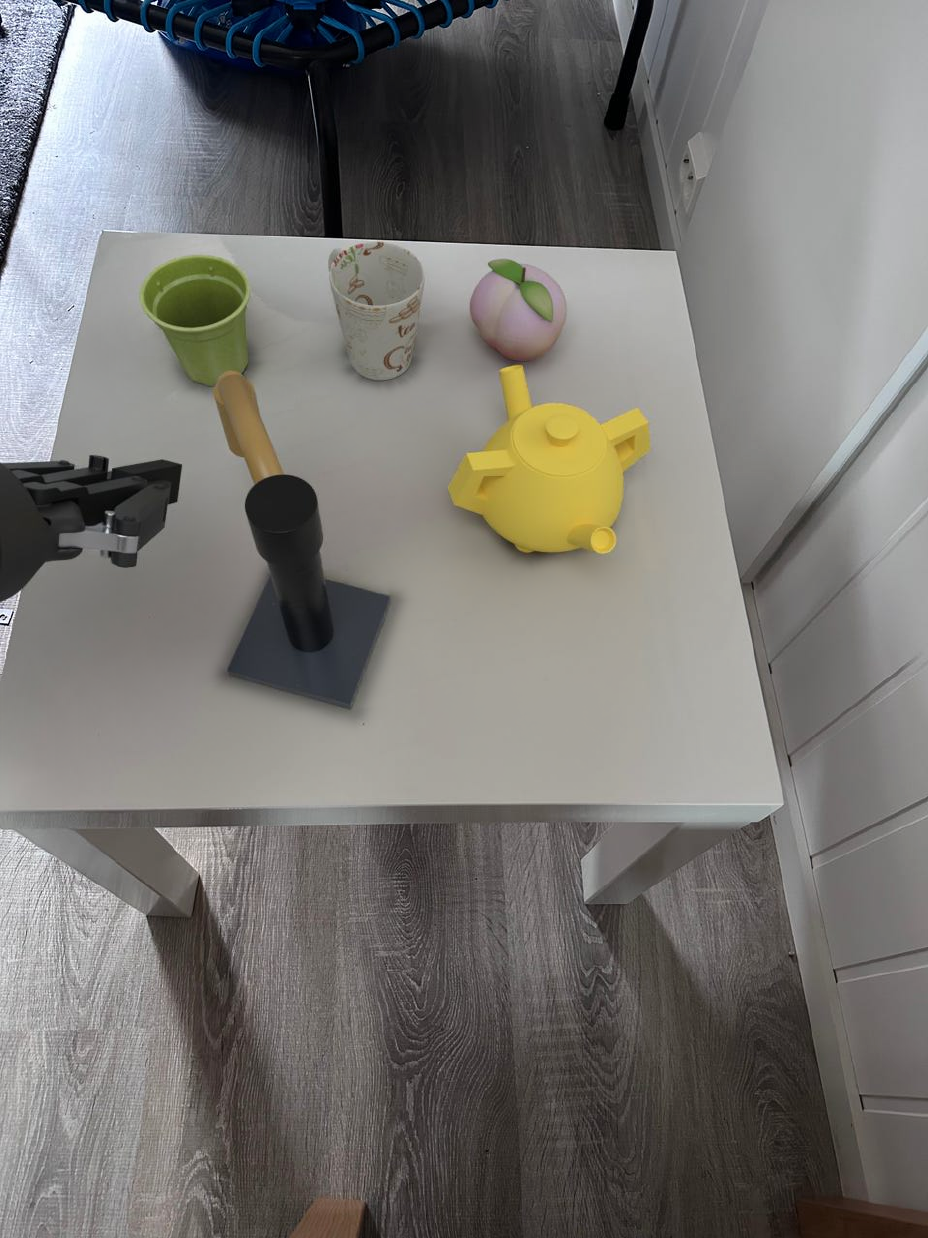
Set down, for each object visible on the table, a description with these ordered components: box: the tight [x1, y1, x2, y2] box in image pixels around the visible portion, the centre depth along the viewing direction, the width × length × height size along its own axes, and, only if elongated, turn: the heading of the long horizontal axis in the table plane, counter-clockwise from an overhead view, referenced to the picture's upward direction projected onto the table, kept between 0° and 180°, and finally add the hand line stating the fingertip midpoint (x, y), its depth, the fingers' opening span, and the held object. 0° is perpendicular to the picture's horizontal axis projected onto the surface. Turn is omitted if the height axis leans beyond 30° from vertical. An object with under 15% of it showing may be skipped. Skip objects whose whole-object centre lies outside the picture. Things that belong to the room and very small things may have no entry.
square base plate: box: [226, 549, 391, 711], centre depth 62 cm, size 10×10×14 cm
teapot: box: [447, 364, 651, 555], centre depth 70 cm, size 20×18×11 cm
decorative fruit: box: [469, 258, 568, 361], centre depth 80 cm, size 9×8×10 cm
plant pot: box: [139, 254, 251, 387], centre depth 77 cm, size 9×9×9 cm
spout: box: [213, 370, 324, 567], centre depth 57 cm, size 16×4×8 cm, turn 23°
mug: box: [327, 241, 426, 381], centre depth 79 cm, size 8×13×10 cm, turn 39°
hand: (169, 480), depth 59 cm, fingers closed
